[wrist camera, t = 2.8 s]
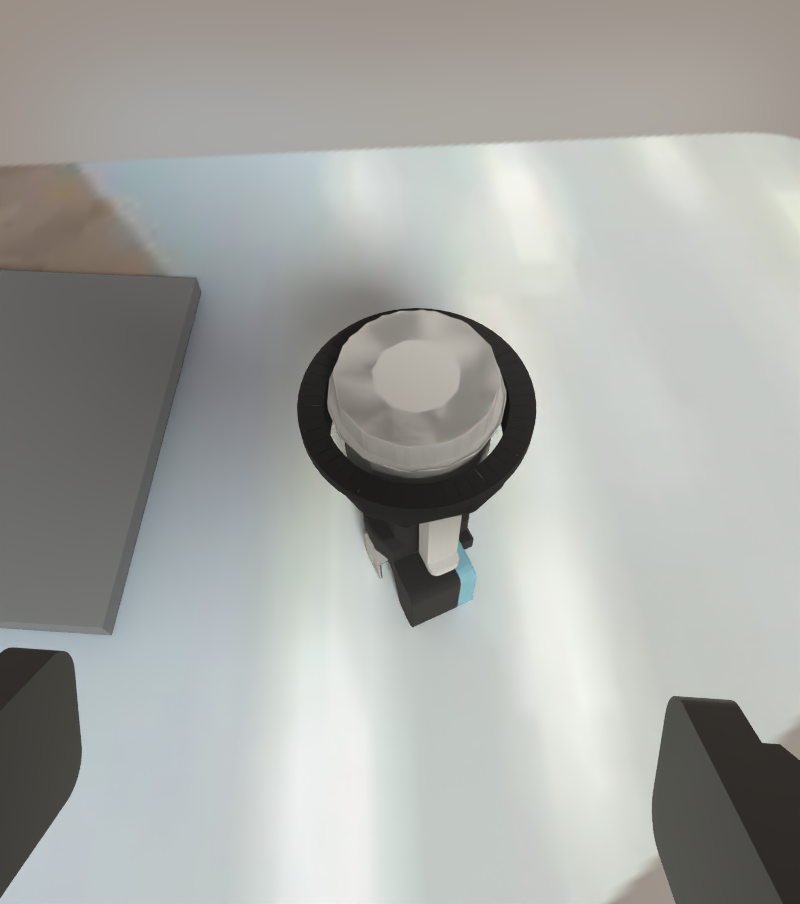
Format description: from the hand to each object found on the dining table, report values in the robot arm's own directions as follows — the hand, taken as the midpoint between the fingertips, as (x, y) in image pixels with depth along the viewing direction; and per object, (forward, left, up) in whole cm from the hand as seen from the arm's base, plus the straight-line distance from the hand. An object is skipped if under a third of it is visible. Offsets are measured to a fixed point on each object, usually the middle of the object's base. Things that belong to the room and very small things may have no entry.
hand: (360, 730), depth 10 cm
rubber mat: (-17, +11, -12) cm, 24 cm away
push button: (0, +8, -13) cm, 15 cm away
